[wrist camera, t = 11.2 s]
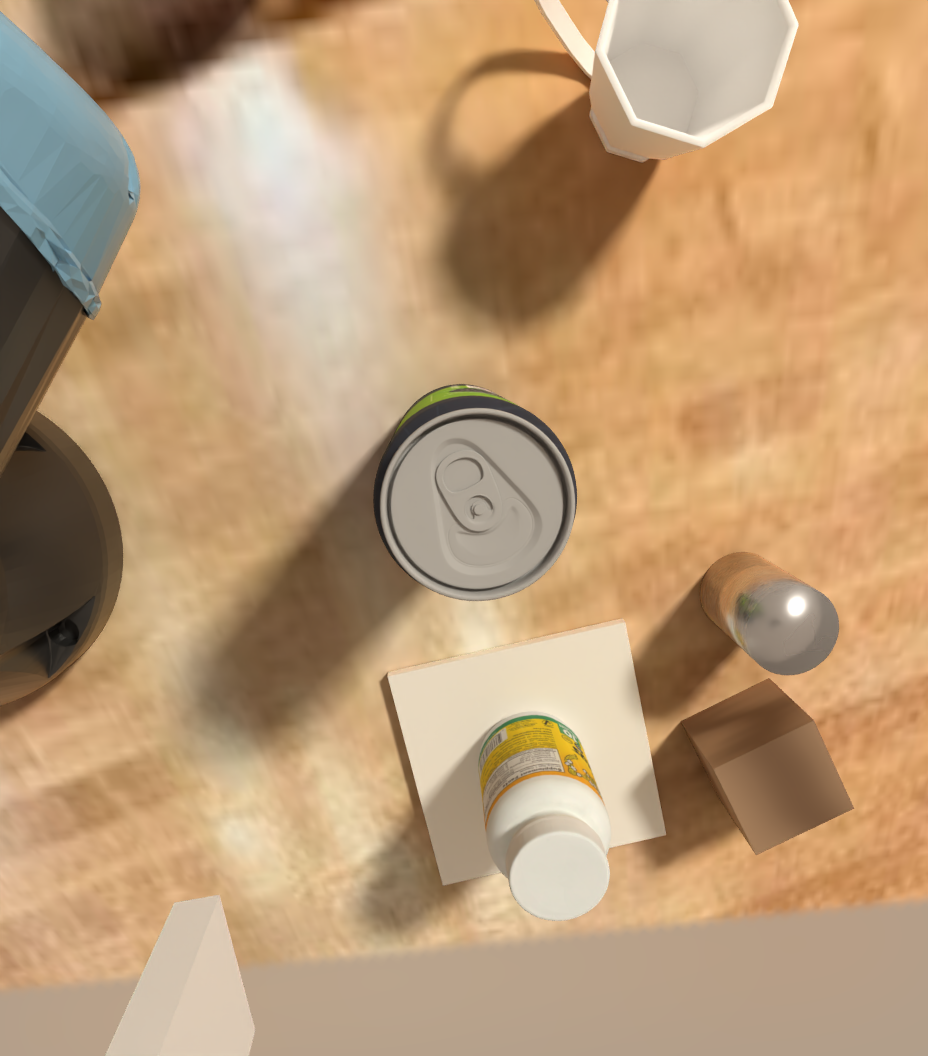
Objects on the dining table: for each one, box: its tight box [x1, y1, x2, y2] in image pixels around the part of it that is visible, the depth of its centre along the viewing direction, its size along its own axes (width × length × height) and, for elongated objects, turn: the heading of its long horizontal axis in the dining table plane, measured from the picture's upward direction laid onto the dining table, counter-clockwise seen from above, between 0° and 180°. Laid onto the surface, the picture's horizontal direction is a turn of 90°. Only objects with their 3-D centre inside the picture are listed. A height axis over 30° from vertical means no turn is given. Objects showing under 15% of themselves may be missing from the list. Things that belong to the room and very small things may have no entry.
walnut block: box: [681, 678, 854, 855], centre depth 39 cm, size 5×5×5 cm
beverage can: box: [373, 384, 577, 601], centre depth 31 cm, size 6×6×15 cm
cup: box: [535, 0, 799, 163], centre depth 31 cm, size 7×10×8 cm
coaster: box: [388, 619, 666, 886], centre depth 41 cm, size 12×12×1 cm
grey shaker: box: [700, 552, 839, 675], centre depth 37 cm, size 4×4×6 cm
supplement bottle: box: [478, 711, 611, 921], centre depth 36 cm, size 5×5×10 cm
